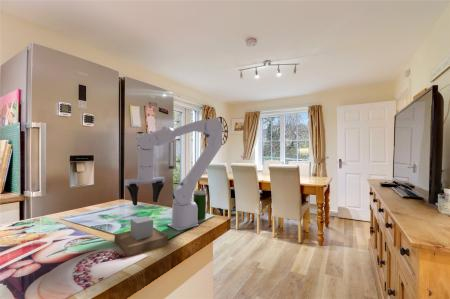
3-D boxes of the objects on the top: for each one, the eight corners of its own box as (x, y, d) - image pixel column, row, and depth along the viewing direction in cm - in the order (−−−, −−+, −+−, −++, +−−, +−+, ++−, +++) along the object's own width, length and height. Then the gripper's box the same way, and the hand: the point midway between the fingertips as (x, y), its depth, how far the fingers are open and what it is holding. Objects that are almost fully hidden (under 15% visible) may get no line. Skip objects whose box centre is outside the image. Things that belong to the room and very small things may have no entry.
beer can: (196, 222, 90) (196, 193, 90) (190, 218, 95) (191, 190, 95) (207, 220, 93) (208, 191, 93) (201, 216, 98) (202, 189, 98)
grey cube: (145, 231, 73) (146, 216, 73) (152, 235, 70) (153, 219, 70) (130, 235, 70) (130, 219, 70) (136, 240, 66) (137, 223, 66)
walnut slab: (150, 234, 78) (151, 226, 78) (167, 245, 69) (168, 236, 69) (114, 243, 70) (114, 234, 70) (128, 258, 61) (128, 247, 61)
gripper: (159, 165, 90) (158, 198, 90) (121, 166, 80) (120, 204, 80) (168, 166, 85) (167, 202, 85) (129, 167, 75) (128, 208, 75)
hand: (145, 203), depth 82 cm, fingers open, 7 cm apart
